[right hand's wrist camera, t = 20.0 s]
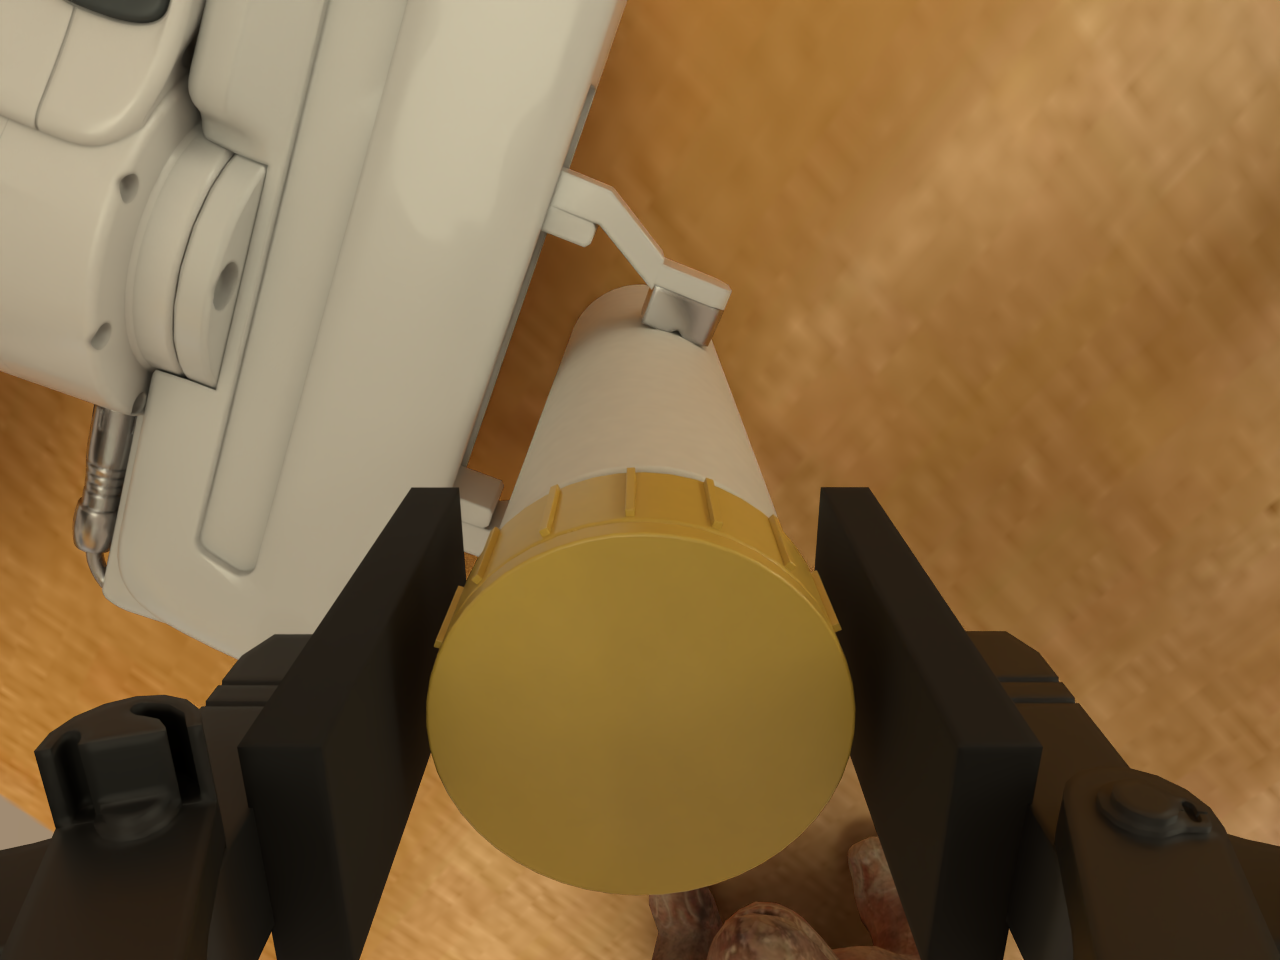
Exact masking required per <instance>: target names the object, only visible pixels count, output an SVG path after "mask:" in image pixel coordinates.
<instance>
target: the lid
mask: <svg viewBox="0 0 1280 960" xmlns="http://www.w3.org/2000/svg"><path fill="white" fill-rule="evenodd" d="M840 630H842V629H841V626H840V624H839V622H838V619H837V617H836V614H835V612H834V610H833V607H832V605H831V603H830V600H829V598H828V595H827V593H826V591H825V588H824V586H823V583H822V581H821V579H820V576H819V574H818V572H817V570H816V571H813V572H810V570H809V568H808V565H807V564H806V562H805V560H804V559H803V557H802V556H801V554H800V553H799V551H798V549H797V548H796V546H795V545H794V544H793V543H792V541H791V540H790V539H789V538H788V537H787V536H786V534H785V533H784V532H783V530H782V527H781V524H780V522H779V519H778V518H777V517H776V516H775V515H771V516H770V517H769V518H768V517H767V516H766V515H765V514H764V513H762V512H761V511H760V510H758V509H757V508H755V507H754V506H752V505H751V504H749V503H748V502H746V501H745V500H743V499H742V498H739V497H737V496H735V495H733V494H731V493H729V492H727V491H725V490H723V489H721V488H719V487H716V486H715V485H714V480H712V479H709V478H705V481H704V482H701V481H698V480H696V479H691V478H686V477H681V476H676V475H671V474H661V473H648V472H637V473H636V472H635V467H631V468H627V473H617V474H612V475H606V476H600V477H594V478H590V479H587V480H584V481H580V482H577V483H574V484H570V485H568V486H565V487H563V488H561V489H560V487H559V485H558V484H556V485H554V486H552V487H550V491H549V494H547V495H545V496H544V497H542V498H540V499H539V500H537V501H536V502H534V503H532V504H531V505H529V506H527V507H526V508H524V509H523V510H522V511H521V512H519V513H518V514H517V515H516V516H514V517H513V518H512V519H511V520H510V521H508V522H507V523H506V524H505V525H504V526H503V527H502V528H501V529H498V528H497V527H496V526H495V527H494V528H493V529H492V530H491V531H490V534H489V537H488V539H487V542H486V544H485V547H484V549H483V552H482V553H481V554H480V556H479V557H478V559H477V561H476V563H475V565H474V567H473V569H472V571H471V573H470V575H469V577H468V579H467V581H466V584H465V586H464V587H462V586H458V588H457V590H456V592H455V595H454V597H453V600H452V602H451V604H450V607H449V609H448V612H447V614H446V616H445V619H444V621H443V624H442V626H441V628H440V631H439V633H438V636H437V638H436V641H435V644H434V647H436V648H439V651H438V653H437V657H436V660H435V663H434V666H433V669H432V672H431V675H430V680H429V686H428V692H427V699H426V727H427V734H428V740H429V746H430V750H431V754H432V757H433V760H434V763H435V766H436V770H437V772H438V775H439V777H440V779H441V781H442V783H443V785H444V787H445V789H446V791H447V793H448V795H449V796H450V798H451V799H452V801H453V802H454V804H455V805H456V807H457V808H458V810H459V811H460V813H461V814H462V815H463V816H464V817H465V818H466V820H467V821H468V822H469V823H470V824H471V825H472V826H473V828H474V829H475V830H476V831H477V832H478V833H479V834H480V835H482V836H483V837H484V838H485V839H486V840H487V841H488V842H490V843H491V844H492V845H493V846H494V847H495V848H497V849H498V850H500V851H501V852H502V853H504V854H505V855H507V856H508V857H510V858H511V859H513V860H514V861H516V862H517V863H519V864H521V865H523V866H525V867H527V868H529V869H531V870H532V871H534V872H536V873H538V874H541V875H543V876H546V877H548V878H551V879H553V880H556V881H558V882H561V883H564V884H568V885H572V886H575V887H579V888H582V889H586V890H592V891H598V892H604V893H610V894H622V895H663V894H670V893H677V892H684V891H690V890H694V889H698V888H702V887H706V886H710V885H714V884H717V883H720V882H722V881H725V880H728V879H731V878H733V877H736V876H739V875H741V874H743V873H745V872H747V871H749V870H751V869H753V868H755V867H757V866H759V865H761V864H762V863H764V862H765V861H767V860H768V859H770V858H772V857H773V856H775V855H776V854H778V853H779V852H781V851H782V850H783V849H785V848H786V847H787V846H788V845H789V844H791V843H792V842H793V841H794V840H795V839H797V838H798V837H799V836H800V835H801V834H802V833H803V832H804V831H805V830H806V829H807V828H808V827H809V826H810V825H811V824H812V823H813V821H814V820H815V819H816V818H817V817H818V815H819V814H820V813H821V811H822V810H823V809H824V807H825V806H826V804H827V803H828V802H829V800H830V799H831V797H832V795H833V793H834V791H835V790H836V788H837V786H838V784H839V782H840V780H841V778H842V776H843V773H844V770H845V767H846V764H847V762H848V759H849V756H850V752H851V747H852V742H853V737H854V732H855V712H856V706H855V697H854V688H853V682H852V678H851V675H850V671H849V667H848V664H847V660H846V658H845V655H844V653H843V650H842V648H841V645H840V643H839V640H838V638H837V635H836V633H835V632H838V631H840Z"/></svg>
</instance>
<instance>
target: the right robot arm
mask: <svg viewBox="0 0 1280 960" xmlns="http://www.w3.org/2000/svg"><path fill="white" fill-rule="evenodd" d="M816 570H817V572H818V574H819V576H820V579H821V581H822V583H823V586H824V588H825V591H826V593H827V595H828V598H829V600H830V603H831V605H832V607H833V610H834V612H835V614H836V617H837V619H838V622H839V624H840V626H841V629H842V630H840V631H838V632H835V633H836V635H837V638H838V640H839V643H840V645H841V648H842V650H843V653H844V655H845V658H846V660H847V664H848V667H849V671H850V675H851V678H852V682H853V688H854V697H855V706H856V712H855V732H854V737H853V742H852V747H851V752H850V756H851V759H852V762H853V765H854V768H855V771H856V774H857V777H858V779H859V782H860V785H861V788H862V791H863V794H864V797H865V800H866V803H867V805H868V808H869V811H870V814H871V817H872V820H873V823H874V826H875V829H876V832H877V834H878V837H879V840H880V843H881V846H882V849H883V852H884V855H885V858H886V860H887V863H888V866H889V869H890V872H891V875H892V878H893V881H894V884H895V886H896V889H897V892H898V895H899V898H900V901H901V904H902V907H903V910H904V912H905V915H906V918H907V921H908V924H909V927H910V930H911V933H912V936H913V939H914V941H915V944H916V947H917V950H918V953H919V956H920V959H921V960H1003V957H1004V952H1005V947H1006V941H1007V936H1008V931H1009V929H1010V931H1011V933H1012V935H1013V937H1014V940H1015V942H1016V944H1017V946H1018V948H1019V950H1020V952H1021V954H1022V957H1023V959H1024V960H1280V846H1275V845H1270V844H1266V843H1261V842H1256V841H1252V840H1247V839H1243V838H1240V837H1236V836H1233V835H1229V834H1227V832H1226V830H1225V828H1224V826H1223V825H1222V824H1221V822H1220V821H1219V819H1218V818H1217V817H1216V815H1215V814H1214V813H1213V811H1212V810H1211V808H1210V807H1208V806H1207V805H1206V804H1204V803H1203V802H1202V801H1201V800H1199V799H1198V798H1197V797H1195V796H1194V795H1193V794H1191V793H1190V792H1189V791H1188V790H1186V789H1184V788H1182V787H1180V786H1178V785H1176V784H1174V783H1172V782H1169V781H1167V780H1165V779H1163V778H1161V777H1159V776H1157V775H1153V774H1149V773H1146V772H1142V771H1138V770H1135V769H1131V768H1130V767H1129V766H1128V765H1127V764H1126V762H1125V761H1124V760H1123V759H1122V757H1121V756H1120V755H1119V753H1118V752H1117V751H1116V750H1115V748H1114V747H1113V746H1112V745H1111V743H1110V742H1109V741H1108V740H1107V738H1106V737H1105V736H1104V734H1103V733H1102V732H1101V731H1100V729H1099V728H1098V727H1097V726H1096V724H1095V723H1094V722H1093V721H1092V719H1091V718H1090V717H1089V715H1088V714H1087V713H1086V712H1085V710H1084V709H1083V708H1082V707H1081V705H1080V704H1079V703H1075V698H1074V696H1073V695H1072V694H1071V693H1070V691H1069V690H1068V689H1067V688H1066V686H1065V685H1064V684H1063V683H1062V682H1059V681H1058V676H1057V675H1056V674H1055V672H1054V671H1053V670H1052V669H1051V667H1050V666H1049V665H1048V664H1047V662H1046V661H1045V660H1044V659H1043V657H1042V656H1041V655H1040V653H1039V652H1037V651H1036V650H1034V649H1032V648H1031V647H1029V646H1028V645H1026V644H1025V643H1023V642H1022V641H1020V640H1019V639H1017V638H1015V637H1014V636H1012V635H1011V634H1009V633H1008V632H1006V631H965V630H964V629H963V627H962V626H961V624H960V623H959V621H958V620H957V618H956V617H955V615H954V614H953V612H952V611H951V609H950V608H949V606H948V605H947V603H946V602H945V600H944V599H943V597H942V596H941V594H940V593H939V591H938V590H937V588H936V587H935V585H934V584H933V582H932V581H931V580H930V578H929V577H928V575H927V574H926V572H925V571H924V569H923V568H922V566H921V565H920V563H919V562H918V560H917V559H916V557H915V556H914V554H913V553H912V551H911V550H910V548H909V547H908V545H907V544H906V542H905V541H904V539H903V538H902V536H901V535H900V533H899V532H898V530H897V529H896V527H895V526H894V524H893V523H892V522H891V520H890V519H889V517H888V516H887V514H886V513H885V511H884V510H883V508H882V507H881V505H880V504H879V502H878V501H877V499H876V498H875V496H874V495H873V493H872V492H871V490H870V489H869V487H821V492H820V506H819V519H818V532H817V545H816V559H815V571H816ZM465 584H466V572H465V559H464V545H463V532H462V519H461V505H460V492H459V487H411V489H410V490H409V492H408V493H407V495H406V496H405V498H404V499H403V501H402V502H401V504H400V505H399V507H398V508H397V510H396V511H395V513H394V514H393V516H392V517H391V519H390V520H389V522H388V523H387V524H386V526H385V527H384V529H383V530H382V532H381V533H380V535H379V536H378V538H377V539H376V541H375V542H374V544H373V545H372V547H371V548H370V550H369V551H368V553H367V554H366V556H365V557H364V559H363V560H362V562H361V563H360V565H359V566H358V568H357V569H356V571H355V572H354V574H353V575H352V577H351V578H350V580H349V581H348V582H347V584H346V585H345V587H344V588H343V590H342V591H341V593H340V594H339V596H338V597H337V599H336V600H335V602H334V603H333V605H332V606H331V608H330V609H329V611H328V612H327V614H326V615H325V617H324V618H323V620H322V621H321V623H320V624H319V626H318V627H317V629H316V630H315V632H314V633H313V634H274V635H272V636H271V637H269V638H268V639H266V640H265V641H263V642H262V643H260V644H259V645H257V646H256V647H254V648H252V649H251V650H249V651H248V652H246V653H245V654H243V655H242V656H241V657H240V658H239V660H238V661H237V662H236V663H235V665H234V666H233V667H232V669H231V670H230V671H229V672H228V674H227V675H226V676H225V677H224V679H223V680H222V685H218V686H217V688H216V689H215V690H214V691H213V693H212V694H211V695H210V697H209V698H208V699H207V700H206V706H205V707H201V708H200V709H198V708H197V707H196V706H194V705H193V704H192V703H191V702H189V701H188V700H187V699H182V698H177V697H172V696H167V695H153V696H136V697H132V698H127V699H123V700H119V701H115V702H111V703H106V704H103V705H101V706H99V707H96V708H94V709H91V710H89V711H87V712H84V713H82V714H80V715H77V716H75V717H73V718H72V719H70V720H69V721H67V722H66V723H64V724H63V725H61V726H60V727H58V728H57V729H55V730H54V731H52V732H51V733H49V734H48V736H47V737H46V738H45V739H44V740H43V742H42V743H41V744H40V745H39V746H38V747H37V749H36V750H35V751H34V753H35V757H36V760H37V764H38V767H39V771H40V774H41V778H42V781H43V785H44V788H45V792H46V796H47V799H48V803H49V806H50V810H51V813H52V817H53V820H54V824H55V827H56V829H55V832H54V834H53V836H52V838H51V839H47V840H44V841H40V842H36V843H33V844H28V845H23V846H19V847H14V848H9V849H5V850H0V960H258V959H259V957H260V955H261V953H262V951H263V948H264V946H265V944H266V942H267V940H268V938H269V936H270V933H271V931H272V936H273V941H274V947H275V952H276V957H277V960H359V959H360V956H361V953H362V950H363V947H364V944H365V941H366V939H367V936H368V933H369V930H370V927H371V924H372V921H373V918H374V915H375V913H376V910H377V907H378V904H379V901H380V898H381V895H382V892H383V889H384V886H385V884H386V881H387V878H388V875H389V872H390V869H391V866H392V863H393V860H394V858H395V855H396V852H397V849H398V846H399V843H400V840H401V837H402V834H403V832H404V829H405V826H406V823H407V820H408V817H409V814H410V811H411V808H412V806H413V803H414V800H415V797H416V794H417V791H418V788H419V785H420V782H421V779H422V777H423V774H424V771H425V768H426V765H427V762H428V759H429V756H430V753H431V750H430V746H429V740H428V734H427V727H426V699H427V692H428V686H429V680H430V675H431V672H432V669H433V666H434V663H435V660H436V657H437V653H438V651H439V648H436V647H434V644H435V641H436V638H437V636H438V633H439V631H440V628H441V626H442V624H443V621H444V619H445V616H446V614H447V612H448V609H449V607H450V604H451V602H452V600H453V597H454V595H455V592H456V590H457V588H458V586H462V587H464V586H465Z"/></svg>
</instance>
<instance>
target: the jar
mask: <svg viewBox="0 0 1280 960" xmlns="http://www.w3.org/2000/svg"><path fill="white" fill-rule="evenodd" d="M649 288H650V287H649V286H648V285H630V286H624V287H620V288H617V289H614V290H612V291H609V292H607V293H605V294H604V295H602V296H600V297H599V298H597V299H596V300H595V301H594V302H592V303H591V304H590V305H589V306H588V307H587V308H586V309H585V310H584V311H583V313H582V314H581V316H580V317H579V318H578V320H577V322H576V324H575V326H574V328H573V331H572V333H571V336H570V339H569V341H568V344H567V347H566V349H565V352H564V355H563V358H562V360H561V363H560V366H559V368H558V371H557V374H556V377H555V379H554V382H553V385H552V387H551V390H550V393H549V395H548V398H547V401H546V404H545V406H544V409H543V412H542V414H541V417H540V420H539V423H538V425H537V428H536V431H535V433H534V436H533V439H532V441H531V444H530V447H529V450H528V452H527V455H526V458H525V460H524V463H523V466H522V468H521V471H520V474H519V477H518V479H517V482H516V485H515V487H514V490H513V493H512V496H511V498H510V501H509V504H508V506H507V509H506V512H505V514H504V517H503V520H502V523H501V525H500V528H499V529H501V528H502V527H503V526H504V525H505V524H506V523H507V522H508V521H510V520H511V519H512V518H513V517H514V516H516V515H517V514H518V513H519V512H521V511H522V510H523V509H524V508H526V507H527V506H529V505H531V504H532V503H534V502H536V501H537V500H539V499H540V498H542V497H544V496H545V495H547V494H549V491H550V487H552V486H554V485H556V484H558V485H559V487H560V489H561V488H563V487H565V486H568V485H570V484H574V483H577V482H580V481H584V480H587V479H590V478H594V477H600V476H606V475H612V474H617V473H627V468H631V467H635V472H636V473H637V472H648V473H661V474H671V475H676V476H681V477H686V478H691V479H696V480H698V481H701V482H704V481H705V478H709V479H712V480H714V485H715V486H716V487H719V488H721V489H723V490H725V491H727V492H729V493H731V494H733V495H735V496H737V497H739V498H742V499H743V500H745V501H746V502H748V503H749V504H751V505H752V506H754V507H755V508H757V509H758V510H760V511H761V512H762V513H764V514H765V515H766V516H767V517H768V518H769V517H770V516H771V515H775V516H776V517H777V518H778V516H777V514H776V511H775V508H774V506H773V503H772V500H771V497H770V495H769V492H768V489H767V487H766V484H765V481H764V479H763V476H762V473H761V471H760V468H759V465H758V463H757V460H756V457H755V455H754V452H753V449H752V447H751V444H750V441H749V438H748V436H747V433H746V430H745V428H744V425H743V422H742V420H741V417H740V414H739V412H738V409H737V406H736V404H735V401H734V398H733V396H732V393H731V390H730V387H729V385H728V382H727V379H726V377H725V374H724V371H723V369H722V366H721V363H720V361H719V358H718V355H717V353H716V350H715V347H714V345H713V342H712V339H711V341H710V343H709V345H708V347H707V346H700V345H697V344H694V343H691V342H689V341H688V340H686V339H684V338H683V337H682V336H681V334H680V332H679V331H678V330H676V331H672V332H665V331H661V330H658V329H656V328H653V327H651V326H648V325H646V324H643V323H641V317H642V315H641V310H642V307H643V304H644V301H645V299H646V296H647V293H648V291H649Z"/></svg>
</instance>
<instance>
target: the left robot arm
mask: <svg viewBox="0 0 1280 960" xmlns="http://www.w3.org/2000/svg"><path fill="white" fill-rule="evenodd" d="M626 3H627V0H0V371H1V372H4V373H7V374H10V375H13V376H16V377H19V378H21V379H24V380H27V381H30V382H33V383H36V384H39V385H42V386H44V387H47V388H50V389H53V390H56V391H59V392H62V393H64V394H67V395H70V396H73V397H76V398H79V399H81V400H84V401H87V402H90V403H93V404H94V409H93V415H92V422H91V427H90V433H89V438H88V444H87V453H86V477H85V486H84V489H83V494H82V497H81V498H80V499H79V500H78V503H77V506H76V509H75V513H74V518H73V540H74V544H75V546H76V547H77V548H78V549H80V550H82V551H84V552H86V558H87V562H88V565H89V568H90V570H91V573H92V575H93V576H94V578H95V580H96V581H97V583H98V584H99V585H100V587H101V588H102V591H103V594H104V596H105V597H106V599H108V600H109V601H110V602H112V603H113V604H115V605H116V606H118V607H120V608H122V609H124V610H126V611H129V612H132V613H135V614H138V615H141V616H144V617H147V618H150V619H154V620H157V621H160V622H163V623H166V624H168V625H170V626H172V627H173V628H175V629H177V630H179V631H181V632H182V633H184V634H186V635H188V636H190V637H192V638H194V639H196V640H198V641H200V642H202V643H204V644H206V645H208V646H210V647H212V648H214V649H216V650H218V651H220V652H222V653H225V654H227V655H229V656H231V657H233V658H235V659H238V660H239V658H240V657H241V656H242V655H243V654H245V653H246V652H248V651H249V650H251V649H252V648H254V647H256V646H257V645H259V644H260V643H262V642H263V641H265V640H266V639H268V638H269V637H271V636H272V635H274V634H313V633H314V632H315V630H316V629H317V627H318V626H319V624H320V623H321V621H322V620H323V618H324V617H325V615H326V614H327V612H328V611H329V609H330V608H331V606H332V605H333V603H334V602H335V600H336V599H337V597H338V596H339V594H340V593H341V591H342V590H343V588H344V587H345V585H346V584H347V582H348V581H349V580H350V578H351V577H352V575H353V574H354V572H355V571H356V569H357V568H358V566H359V565H360V563H361V562H362V560H363V559H364V557H365V556H366V554H367V553H368V551H369V550H370V548H371V547H372V545H373V544H374V542H375V541H376V539H377V538H378V536H379V535H380V533H381V532H382V530H383V529H384V527H385V526H386V524H387V523H388V522H389V520H390V519H391V517H392V516H393V514H394V513H395V511H396V510H397V508H398V507H399V505H400V504H401V502H402V501H403V499H404V498H405V496H406V495H407V493H408V492H409V490H410V489H411V487H459V492H460V505H461V519H462V532H463V545H464V552H466V553H469V554H472V555H475V556H478V557H479V556H480V554H481V553H482V552H483V549H484V547H485V544H486V542H487V539H488V537H489V534H490V531H491V530H492V529H493V528H494V527H495V526H496V527H497V528H498V529H499V528H500V525H501V523H502V520H503V517H504V514H505V512H506V509H507V506H508V504H509V501H510V500H505V501H499V498H500V496H501V493H502V490H503V488H504V484H503V482H502V480H499V479H496V478H493V477H491V476H488V475H485V474H483V473H480V472H477V471H475V470H472V469H469V468H467V464H468V462H469V459H470V456H471V453H472V450H473V447H474V444H475V441H476V438H477V435H478V433H479V430H480V427H481V424H482V421H483V418H484V415H485V412H486V409H487V406H488V404H489V401H490V398H491V395H492V392H493V389H494V386H495V383H496V380H497V377H498V374H499V372H500V369H501V366H502V363H503V360H504V357H505V354H506V351H507V348H508V345H509V343H510V340H511V337H512V334H513V331H514V328H515V325H516V322H517V319H518V316H519V314H520V311H521V308H522V305H523V302H524V299H525V296H526V293H527V290H528V287H529V285H530V282H531V279H532V276H533V273H534V270H535V267H536V264H537V261H538V258H539V255H540V253H541V250H542V247H543V244H544V241H545V238H546V235H547V233H549V234H551V235H554V236H557V237H559V238H562V239H564V240H567V241H570V242H572V243H575V244H577V245H580V246H582V247H586V246H588V245H589V244H591V242H592V240H593V238H594V236H595V234H596V231H597V228H598V226H599V225H600V226H601V228H602V229H603V230H604V231H605V233H606V234H607V235H608V236H609V238H610V239H611V240H612V241H613V243H614V244H615V245H616V246H617V248H618V249H619V250H620V251H621V252H622V254H623V255H624V256H625V257H626V259H627V260H628V261H629V262H630V264H631V265H632V266H633V267H634V269H635V270H636V271H637V272H638V274H639V275H640V276H641V277H642V279H643V280H644V281H645V282H646V284H647V285H648V286H649V287H650V288H649V291H648V293H647V296H646V299H645V301H644V304H643V307H642V310H641V315H642V317H641V323H643V324H646V325H648V326H651V327H653V328H656V329H658V330H661V331H665V332H672V331H676V330H678V331H679V332H680V334H681V336H682V337H683V338H684V339H686V340H688V341H689V342H691V343H694V344H697V345H700V346H707V347H708V345H709V343H710V341H711V339H712V336H713V334H714V332H715V330H716V327H717V325H718V323H719V321H720V318H721V316H722V314H723V312H724V309H725V306H726V304H727V302H728V299H729V297H730V295H731V293H732V290H731V288H730V287H729V285H728V284H726V283H724V282H722V281H721V280H719V279H717V278H715V277H712V276H710V275H708V274H705V273H703V272H700V271H698V270H695V269H693V268H690V267H688V266H685V265H683V264H680V263H678V262H675V261H673V260H670V259H668V258H666V257H664V254H663V250H662V249H661V248H660V246H659V245H658V244H657V243H656V241H655V240H654V239H653V237H652V236H651V235H650V234H649V232H648V231H647V230H646V228H645V227H644V226H643V224H642V223H641V222H640V221H639V219H638V218H637V217H636V215H635V214H634V213H633V212H632V210H631V209H630V208H629V206H628V205H627V204H626V202H625V201H624V200H623V199H622V197H621V196H620V195H619V193H618V192H617V191H616V190H615V188H614V187H613V186H610V185H608V184H605V183H603V182H600V181H598V180H595V179H593V178H591V177H588V176H586V175H583V174H581V173H578V172H576V171H574V170H571V169H569V168H570V166H571V163H572V160H573V157H574V154H575V151H576V148H577V145H578V142H579V139H580V136H581V134H582V131H583V128H584V125H585V122H586V119H587V116H588V113H589V110H590V107H591V105H592V102H593V99H594V96H595V93H596V90H597V87H598V84H599V81H600V78H601V76H602V73H603V70H604V67H605V64H606V61H607V58H608V55H609V52H610V49H611V47H612V44H613V41H614V38H615V35H616V32H617V29H618V26H619V23H620V20H621V17H622V14H623V12H624V9H625V6H626ZM108 551H110V552H109V557H108V562H107V565H106V562H105V559H104V553H105V552H108Z"/></svg>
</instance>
